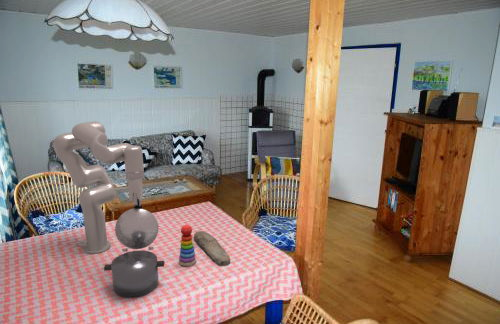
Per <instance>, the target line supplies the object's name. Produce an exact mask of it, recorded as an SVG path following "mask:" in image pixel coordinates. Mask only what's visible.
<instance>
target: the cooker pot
mask: <svg viewBox="0 0 500 324" xmlns="http://www.w3.org/2000/svg"><path fill="white" fill-rule="evenodd" d="M121 249H122V252H124V253H122V254H121V253H120V254H119V255H118V256H116V257H115V258H114V259H113V260H112V261H111V263H109V264H108V263H107V264H104V268H103V270H104V272H105V271H106V272H107V271H111V277H112V286H113V287H112V289H113V292H114V294H115V295H116V296H119V297H120V298H124V299H135V298H140V297H141V298H142V297H144V296H146V295H149V294H150V293H152V292H154V291H155V290H156V288H157V287H158V286H159V282H160V281H159V268H161V267H162V268H163V267H164V268H165V260H158V256H157V255H156V254H155V253H153V252H152V250H153V251H154V246H148V250H149V251H148V250H142V249H137V250H132V251H129V250H128V249H129V248H128V247H125V248H121Z"/></svg>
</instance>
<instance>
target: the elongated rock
mask: <svg viewBox="0 0 500 324" xmlns="http://www.w3.org/2000/svg"><path fill="white" fill-rule="evenodd" d="M193 238H194V240H195V242H196V243H197V244H198V246H199V247H200V248H201V249H202V250H204V252H205V253H206V254H207V256H209V258H211V259H212V260H213V261H214V262H215V263H216V264H218V265H220V266H223V267H225V266H228V265H230V264H231V258H230V255H229V254H228V253H227V251H226V249H224V248H223V246H222V245H221V244H220V243H219V241H218V240H217V238H216V237H214V236H213V235H211V234H209V233H208V232H206V231H203V230H198V231H196V232H195V233H194V235H193Z"/></svg>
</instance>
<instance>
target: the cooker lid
mask: <svg viewBox="0 0 500 324" xmlns="http://www.w3.org/2000/svg"><path fill="white" fill-rule="evenodd" d="M114 233H115V236H116V238H117V240H118V242H119V243H121V245H123V246H124V247H125V248H128V249H131V250H132V249H133V250H142V249H145V248H148V247H150V245H151V244H152V243H154V242H155V240H156V239H157V237H158V234H159V222H158V220H157V218H156V216H155V215H154V214H153V213H152V212H151V211H149V210H147V209H145V208H142V209H141V208H134V207H133V208H129V209H128V210H126V211H124V212H123V213H121V215H120V216H119V217H118V219H117V221H116V222H115V226H114Z"/></svg>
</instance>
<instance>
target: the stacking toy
mask: <svg viewBox="0 0 500 324" xmlns="http://www.w3.org/2000/svg"><path fill="white" fill-rule="evenodd" d="M180 232H181V234H182V235H181V236H180V249H179V251H180V252H179V255H178V256H179V257H178V263H179V265H180V266H183V267H191V266H193V265H195V264H196V262H197V259H196V251H195V247H194V240H193V234H192V232H193V228H192V226H191V225H190V224H185V225H183V226H181V228H180Z"/></svg>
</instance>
